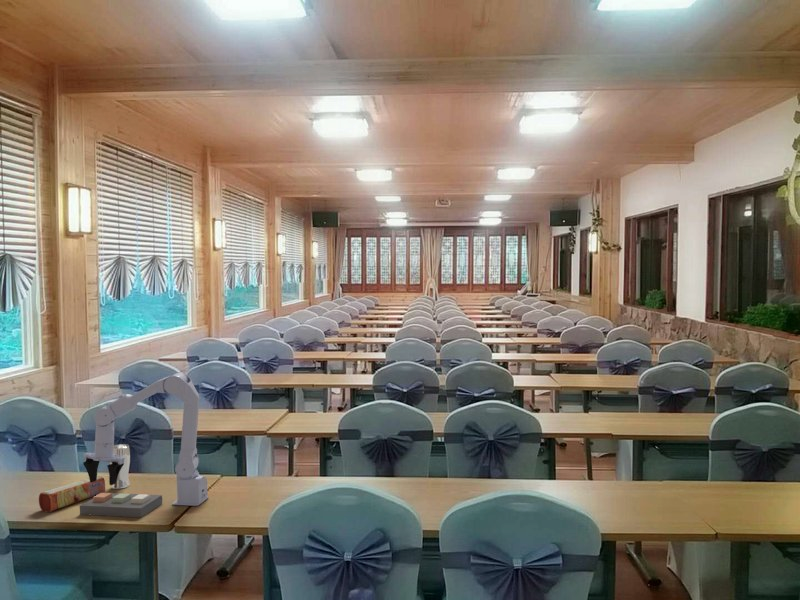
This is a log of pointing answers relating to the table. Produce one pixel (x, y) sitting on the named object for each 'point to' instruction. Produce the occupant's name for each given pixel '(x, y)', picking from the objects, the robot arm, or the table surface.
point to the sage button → (121, 498)
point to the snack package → (70, 494)
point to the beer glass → (122, 477)
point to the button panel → (121, 507)
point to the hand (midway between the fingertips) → (102, 482)
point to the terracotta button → (102, 497)
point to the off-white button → (140, 499)
